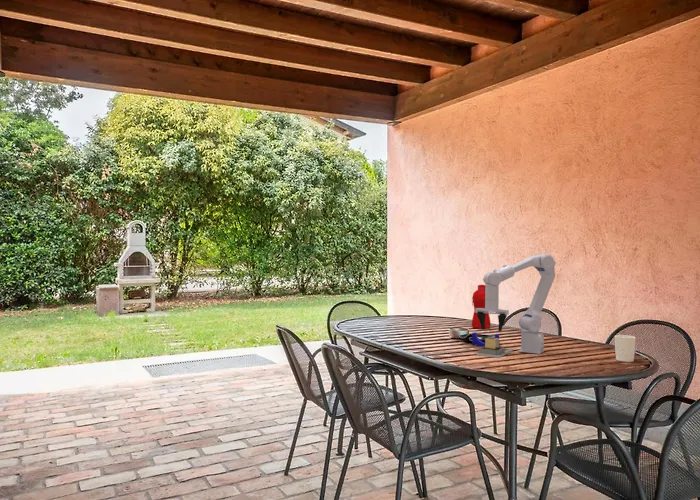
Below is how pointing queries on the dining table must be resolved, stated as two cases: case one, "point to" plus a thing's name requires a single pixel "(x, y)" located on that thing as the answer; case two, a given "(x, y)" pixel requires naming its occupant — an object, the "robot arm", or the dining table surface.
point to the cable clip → (477, 341)
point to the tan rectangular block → (492, 343)
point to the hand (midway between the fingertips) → (491, 330)
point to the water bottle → (479, 303)
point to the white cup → (625, 348)
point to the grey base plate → (494, 352)
